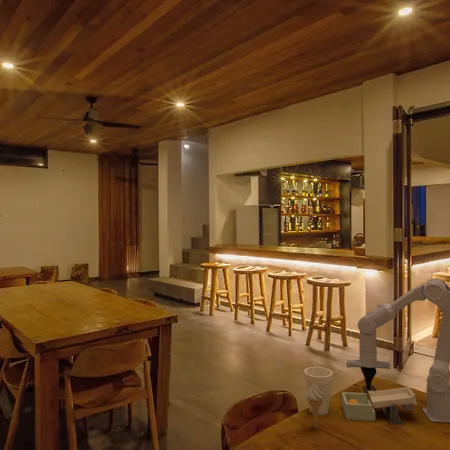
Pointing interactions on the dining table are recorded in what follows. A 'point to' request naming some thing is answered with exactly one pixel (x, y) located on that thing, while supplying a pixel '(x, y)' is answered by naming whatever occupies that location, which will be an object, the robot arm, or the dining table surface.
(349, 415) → the cup
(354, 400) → the ball
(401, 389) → the lever board
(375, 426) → the dining table surface
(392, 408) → the lever stand
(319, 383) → the foam cup
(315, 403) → the ice cream cone
